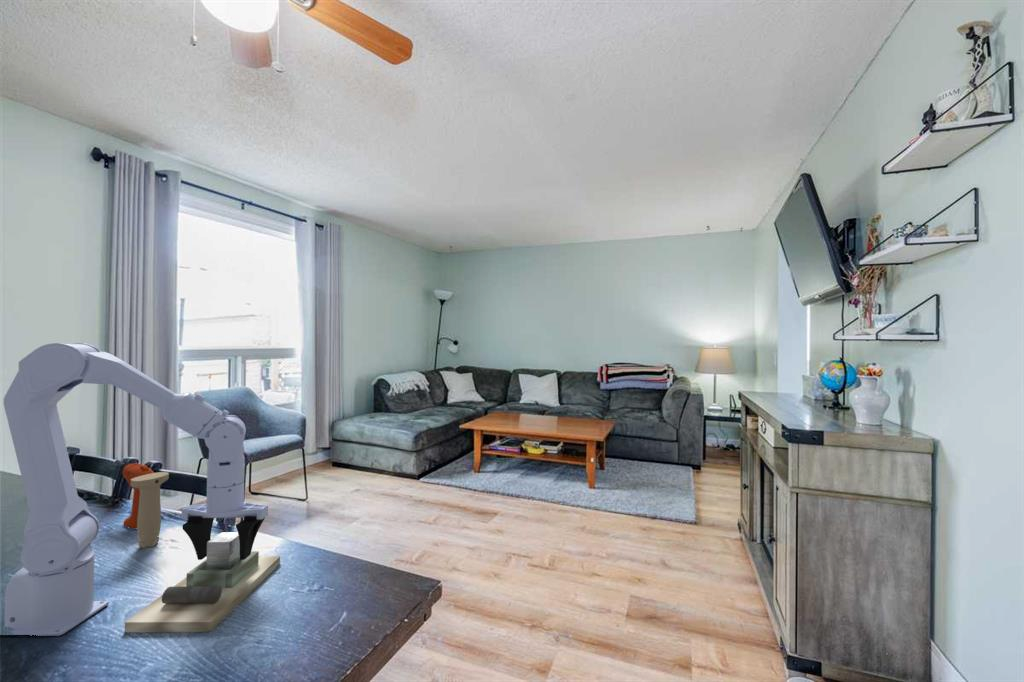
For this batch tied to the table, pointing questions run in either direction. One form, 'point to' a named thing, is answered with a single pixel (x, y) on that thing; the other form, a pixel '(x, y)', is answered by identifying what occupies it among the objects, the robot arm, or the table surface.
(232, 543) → the key peg
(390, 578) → the table surface
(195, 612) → the block
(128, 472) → the toy drill
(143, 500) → the handle
